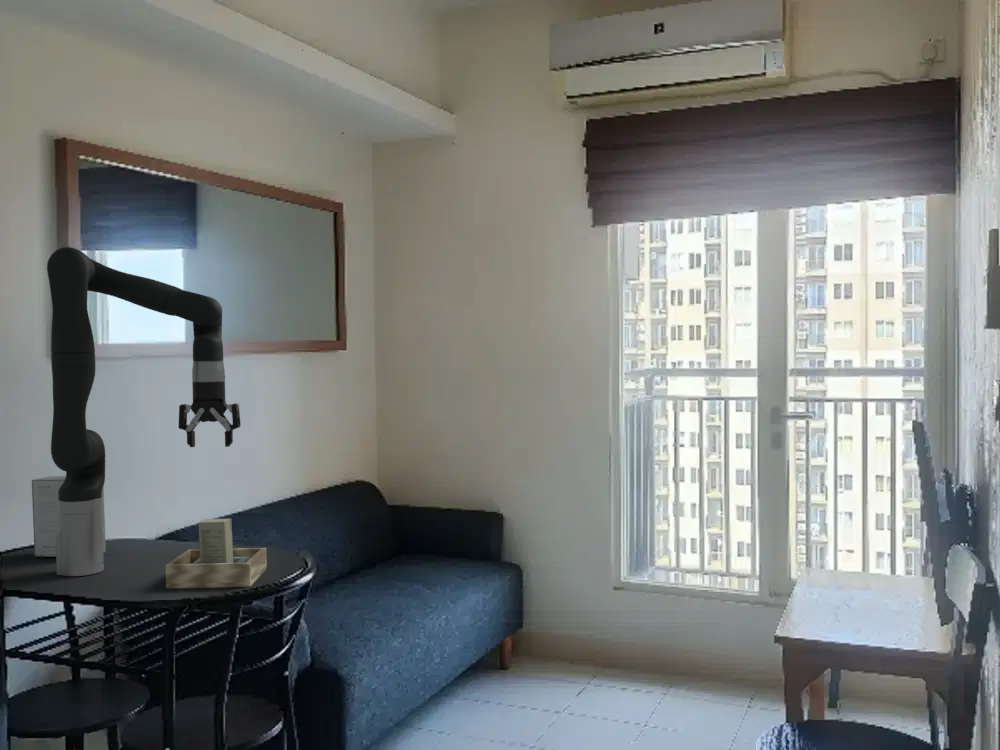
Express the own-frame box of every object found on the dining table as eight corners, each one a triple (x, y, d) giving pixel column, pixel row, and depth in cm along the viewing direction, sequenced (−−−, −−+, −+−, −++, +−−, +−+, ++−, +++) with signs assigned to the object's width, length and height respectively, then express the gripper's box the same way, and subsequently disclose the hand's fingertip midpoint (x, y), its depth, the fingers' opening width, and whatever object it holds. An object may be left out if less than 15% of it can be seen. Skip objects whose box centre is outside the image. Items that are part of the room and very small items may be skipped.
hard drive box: (107, 552, 235) (105, 475, 234) (89, 559, 227) (87, 479, 227) (52, 551, 237) (49, 475, 237) (32, 558, 230) (30, 479, 229)
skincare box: (234, 571, 208) (233, 518, 207) (227, 576, 203) (225, 521, 203) (206, 571, 208) (205, 518, 208) (199, 576, 204) (197, 521, 203)
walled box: (166, 588, 197) (165, 565, 197) (189, 570, 213) (188, 549, 213) (250, 586, 198) (249, 563, 198) (266, 569, 214) (266, 547, 214)
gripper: (173, 380, 217) (175, 448, 218) (234, 380, 218) (235, 447, 218) (183, 379, 225) (185, 445, 225) (242, 379, 225) (243, 444, 226)
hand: (210, 446), depth 222 cm, fingers open, 8 cm apart
